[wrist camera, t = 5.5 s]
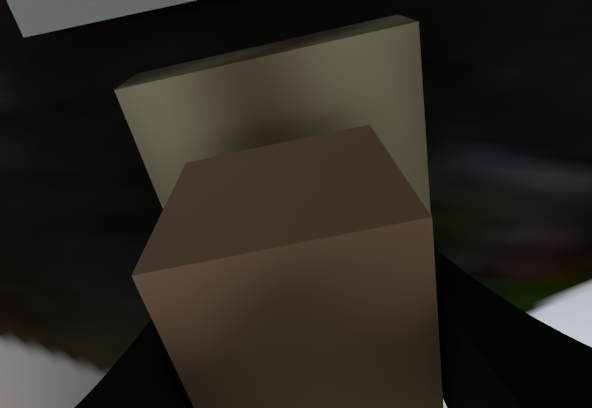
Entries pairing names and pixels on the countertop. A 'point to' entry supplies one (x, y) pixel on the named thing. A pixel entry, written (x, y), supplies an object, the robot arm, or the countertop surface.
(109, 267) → the countertop surface
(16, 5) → the grey block
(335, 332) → the terracotta cube
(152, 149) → the olive block
